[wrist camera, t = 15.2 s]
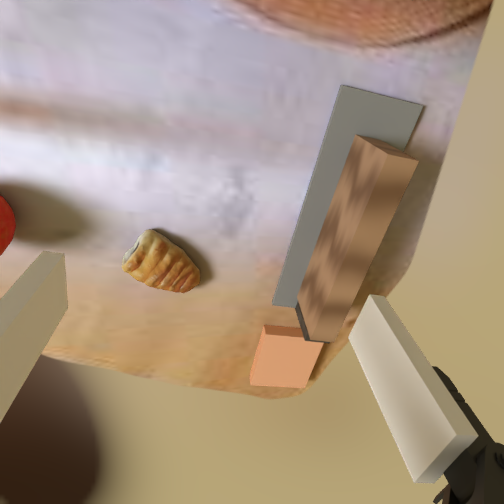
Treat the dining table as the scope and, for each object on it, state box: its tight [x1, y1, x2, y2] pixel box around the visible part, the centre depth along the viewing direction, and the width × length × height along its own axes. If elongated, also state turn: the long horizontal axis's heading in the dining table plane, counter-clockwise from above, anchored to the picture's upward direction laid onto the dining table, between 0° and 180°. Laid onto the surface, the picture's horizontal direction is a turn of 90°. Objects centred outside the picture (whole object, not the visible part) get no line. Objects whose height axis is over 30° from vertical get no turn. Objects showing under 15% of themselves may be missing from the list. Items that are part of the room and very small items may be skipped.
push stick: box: [295, 134, 419, 343], centre depth 38 cm, size 23×3×8 cm, turn 168°
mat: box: [272, 85, 423, 308], centre depth 41 cm, size 28×9×1 cm, turn 168°
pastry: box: [122, 229, 200, 293], centre depth 41 cm, size 9×7×4 cm
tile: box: [250, 325, 324, 388], centre depth 52 cm, size 2×9×11 cm
